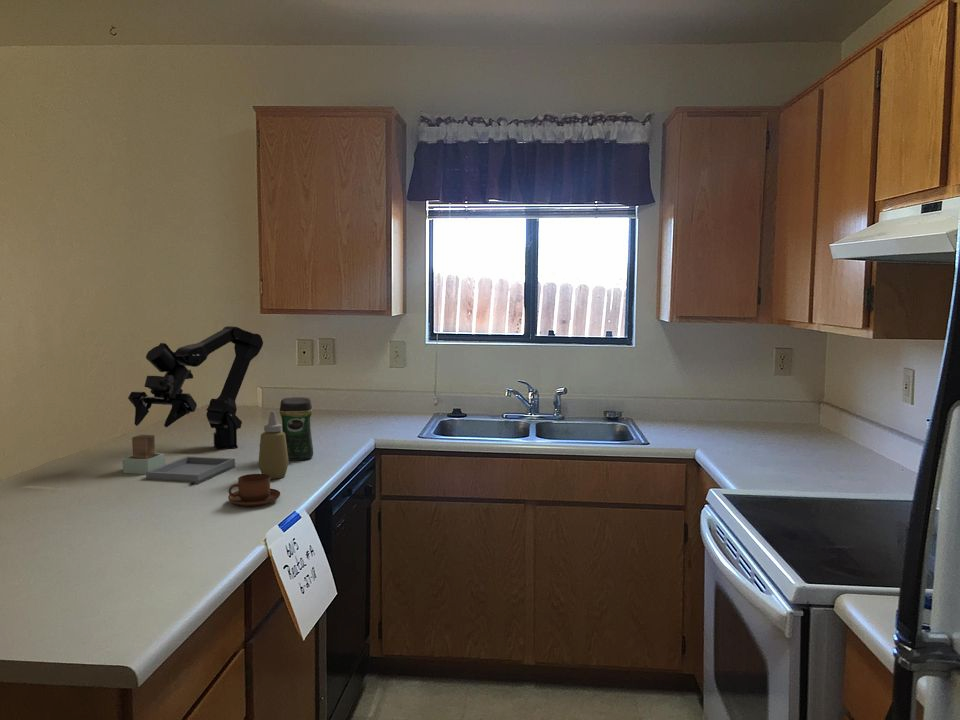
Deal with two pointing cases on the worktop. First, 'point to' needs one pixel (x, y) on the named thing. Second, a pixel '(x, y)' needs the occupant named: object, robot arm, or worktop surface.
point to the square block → (143, 446)
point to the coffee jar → (297, 427)
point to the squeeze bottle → (273, 449)
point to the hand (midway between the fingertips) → (150, 425)
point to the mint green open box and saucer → (253, 490)
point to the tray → (191, 469)
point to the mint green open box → (142, 464)
